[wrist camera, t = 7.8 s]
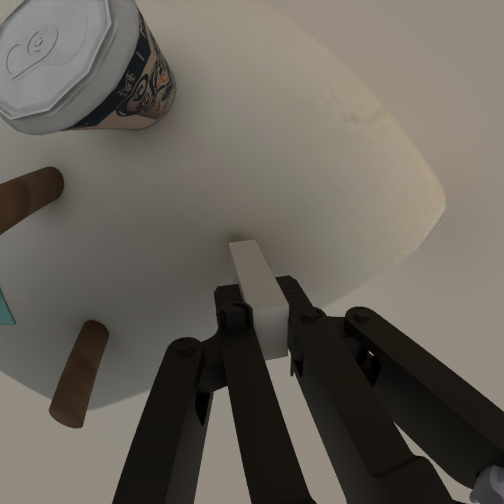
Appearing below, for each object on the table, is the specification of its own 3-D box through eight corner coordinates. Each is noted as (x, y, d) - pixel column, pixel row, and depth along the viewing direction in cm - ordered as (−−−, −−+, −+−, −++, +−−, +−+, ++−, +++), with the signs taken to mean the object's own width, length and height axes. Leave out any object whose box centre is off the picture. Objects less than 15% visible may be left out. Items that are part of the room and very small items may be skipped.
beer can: (185, 115, 16) (149, 81, 5) (113, 141, 15) (-13, 171, 4) (167, 47, 13) (119, -62, 3) (96, 75, 13) (-27, 28, 2)
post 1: (40, 203, 16) (-39, 257, 8) (34, 171, 15) (-53, 208, 7) (66, 197, 16) (-12, 250, 8) (60, 162, 15) (-26, 196, 7)
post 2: (88, 343, 21) (60, 426, 13) (78, 321, 20) (42, 404, 12) (112, 342, 21) (89, 429, 13) (103, 319, 20) (71, 408, 12)
